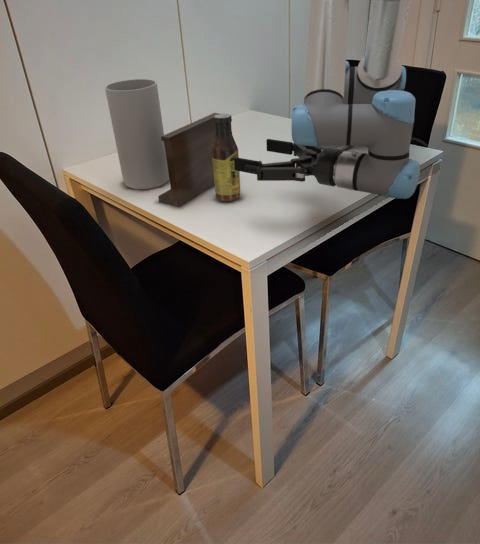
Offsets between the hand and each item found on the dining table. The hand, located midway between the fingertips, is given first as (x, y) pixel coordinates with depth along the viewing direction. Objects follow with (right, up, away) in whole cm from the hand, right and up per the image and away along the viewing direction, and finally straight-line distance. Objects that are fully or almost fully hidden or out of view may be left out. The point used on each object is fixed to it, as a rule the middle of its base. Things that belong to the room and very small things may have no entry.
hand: (251, 153), depth 110 cm
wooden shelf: (-15, -5, +15) cm, 22 cm away
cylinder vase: (-28, -2, +22) cm, 36 cm away
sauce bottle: (-6, -8, +10) cm, 14 cm away
